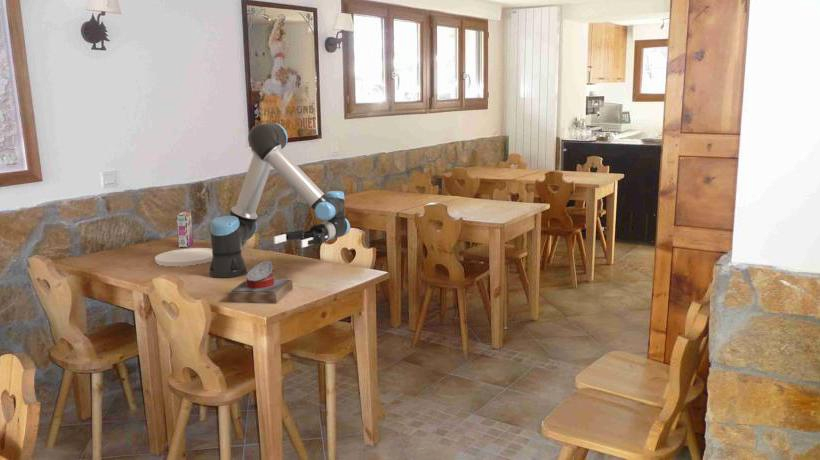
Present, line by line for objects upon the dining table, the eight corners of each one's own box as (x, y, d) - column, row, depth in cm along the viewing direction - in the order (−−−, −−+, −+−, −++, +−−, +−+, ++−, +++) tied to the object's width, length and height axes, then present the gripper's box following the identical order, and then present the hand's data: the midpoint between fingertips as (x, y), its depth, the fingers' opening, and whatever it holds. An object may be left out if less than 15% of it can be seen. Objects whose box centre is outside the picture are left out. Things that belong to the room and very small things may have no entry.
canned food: (274, 297, 252) (277, 277, 246) (246, 297, 249) (248, 277, 243) (271, 277, 261) (274, 257, 255) (244, 277, 257) (246, 256, 252)
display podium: (228, 302, 246) (227, 291, 245) (247, 288, 263) (247, 278, 263) (276, 303, 243) (275, 292, 242) (292, 289, 260) (292, 279, 260)
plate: (183, 270, 295) (183, 264, 295) (141, 263, 310) (141, 258, 310) (232, 256, 319) (231, 251, 318) (190, 250, 333) (190, 245, 333)
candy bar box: (188, 247, 338) (186, 215, 335) (178, 248, 338) (175, 215, 335) (193, 243, 349) (191, 211, 346) (183, 243, 349) (181, 211, 346)
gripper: (347, 244, 275) (313, 255, 257) (298, 238, 287) (263, 248, 270) (346, 226, 273) (313, 235, 256) (297, 220, 286) (262, 229, 268)
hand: (287, 242), depth 263 cm, fingers open, 13 cm apart
